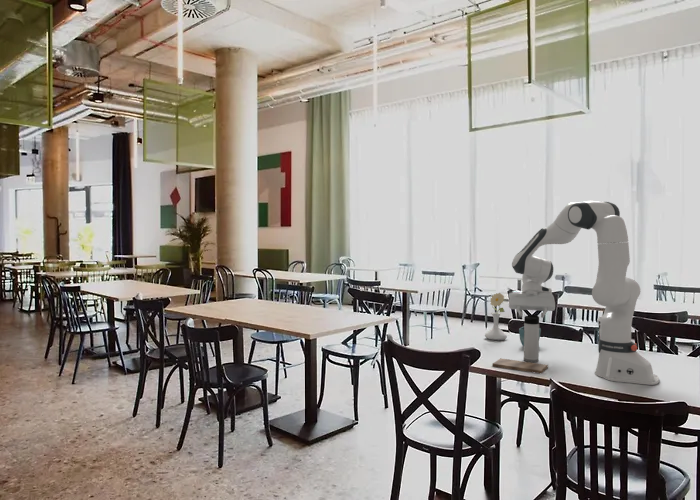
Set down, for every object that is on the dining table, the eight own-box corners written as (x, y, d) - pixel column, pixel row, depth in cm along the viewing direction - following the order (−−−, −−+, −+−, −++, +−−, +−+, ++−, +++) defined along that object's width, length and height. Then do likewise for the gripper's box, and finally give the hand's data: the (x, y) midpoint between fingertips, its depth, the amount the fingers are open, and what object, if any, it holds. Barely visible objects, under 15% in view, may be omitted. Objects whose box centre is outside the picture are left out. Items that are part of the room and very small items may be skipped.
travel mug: (541, 360, 235) (542, 315, 234) (534, 363, 230) (535, 317, 229) (527, 358, 239) (528, 313, 239) (521, 360, 235) (521, 315, 234)
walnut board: (547, 367, 223) (547, 364, 223) (541, 373, 214) (541, 370, 214) (500, 361, 234) (500, 358, 234) (492, 366, 225) (492, 363, 225)
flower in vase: (480, 337, 284) (481, 291, 283) (499, 336, 287) (500, 290, 286) (492, 342, 271) (493, 294, 270) (512, 341, 274) (513, 293, 273)
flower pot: (541, 346, 264) (541, 328, 264) (536, 349, 257) (537, 331, 256) (523, 343, 269) (523, 326, 268) (518, 347, 261) (518, 329, 261)
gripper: (508, 287, 251) (507, 311, 242) (555, 289, 244) (555, 313, 235) (508, 295, 255) (507, 319, 246) (554, 297, 249) (555, 321, 240)
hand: (531, 316), depth 241 cm, fingers open, 8 cm apart
